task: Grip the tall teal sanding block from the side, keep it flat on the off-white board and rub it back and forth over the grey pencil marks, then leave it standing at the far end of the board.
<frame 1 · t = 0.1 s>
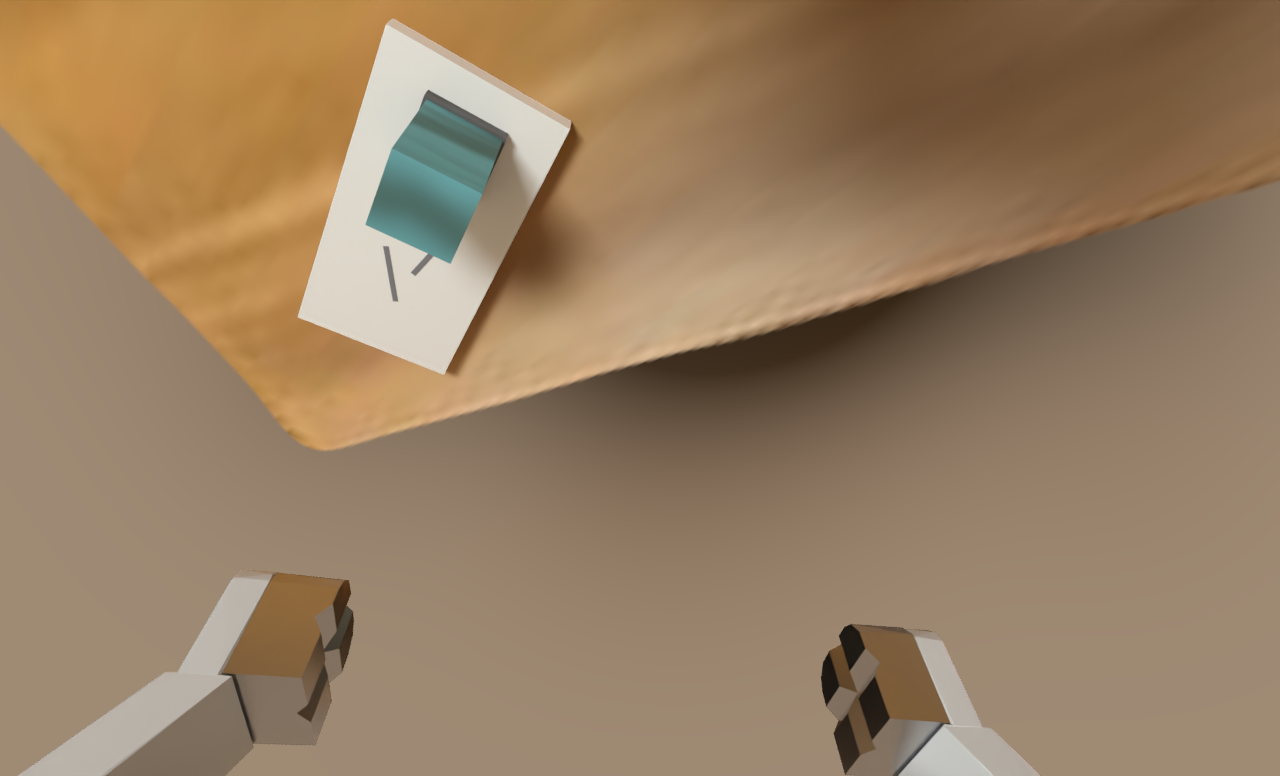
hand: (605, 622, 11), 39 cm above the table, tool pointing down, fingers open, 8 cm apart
board: (425, 222, 48), on the table
sanding block: (454, 148, 43), point 2 cm above the table, touching board
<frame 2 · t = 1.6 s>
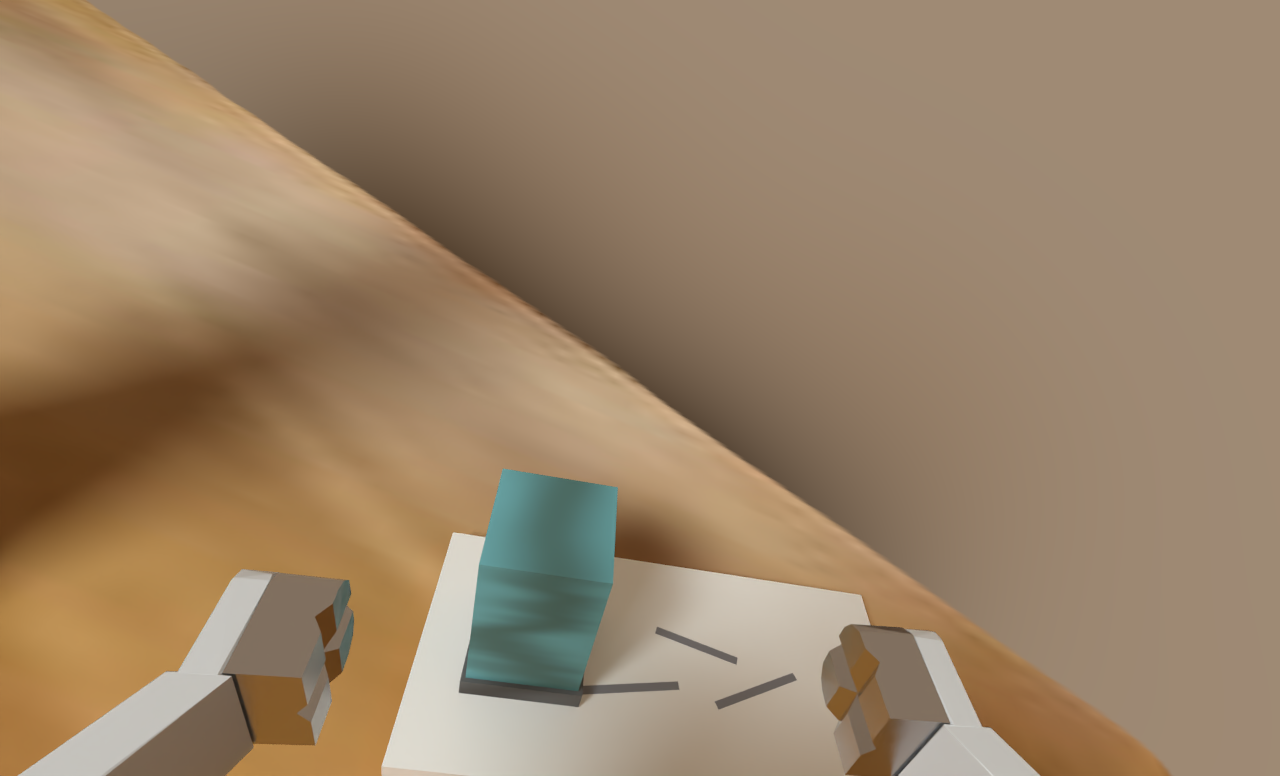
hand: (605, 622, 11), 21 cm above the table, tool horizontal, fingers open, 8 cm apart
board: (661, 679, 33), on the table
sanding block: (527, 644, 31), point 2 cm above the table, touching board
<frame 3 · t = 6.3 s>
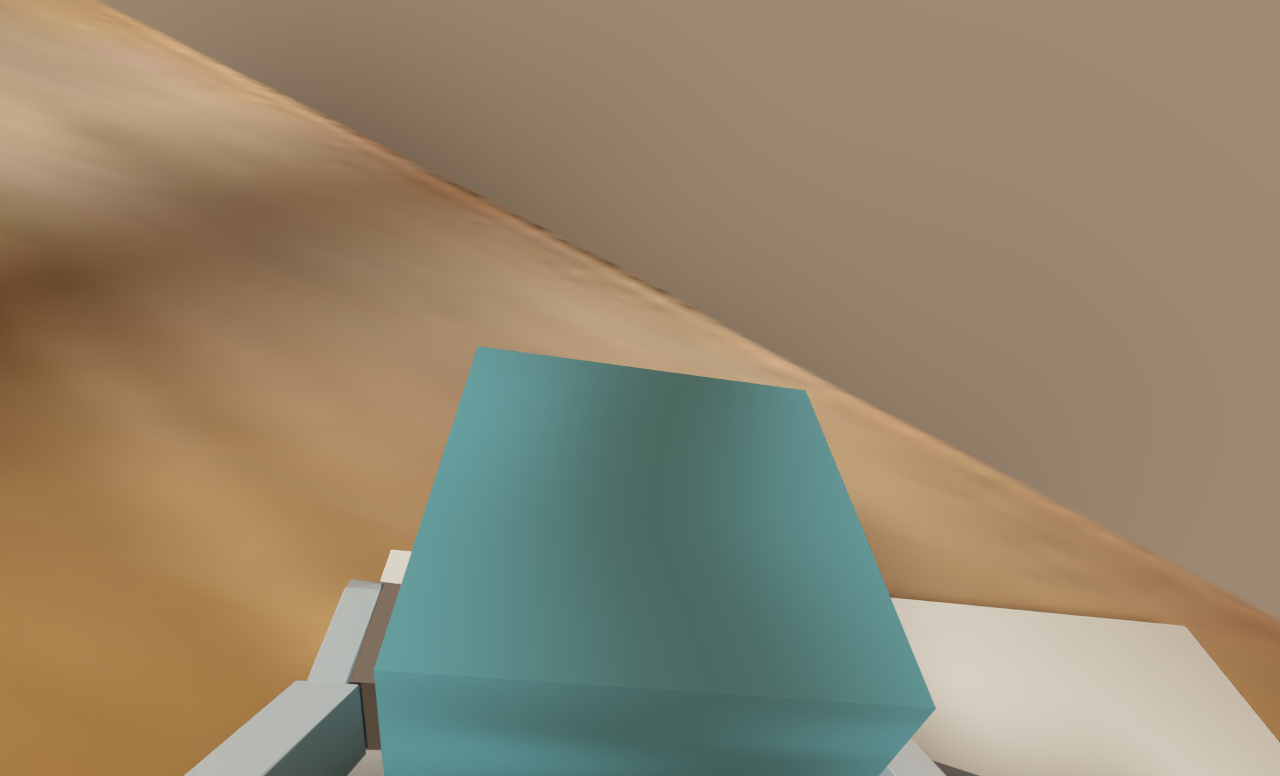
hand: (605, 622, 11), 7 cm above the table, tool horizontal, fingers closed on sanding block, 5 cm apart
when the fingers open (6 cm above the table, at t = 15.3 s): sanding block stays where it is, resting on board.
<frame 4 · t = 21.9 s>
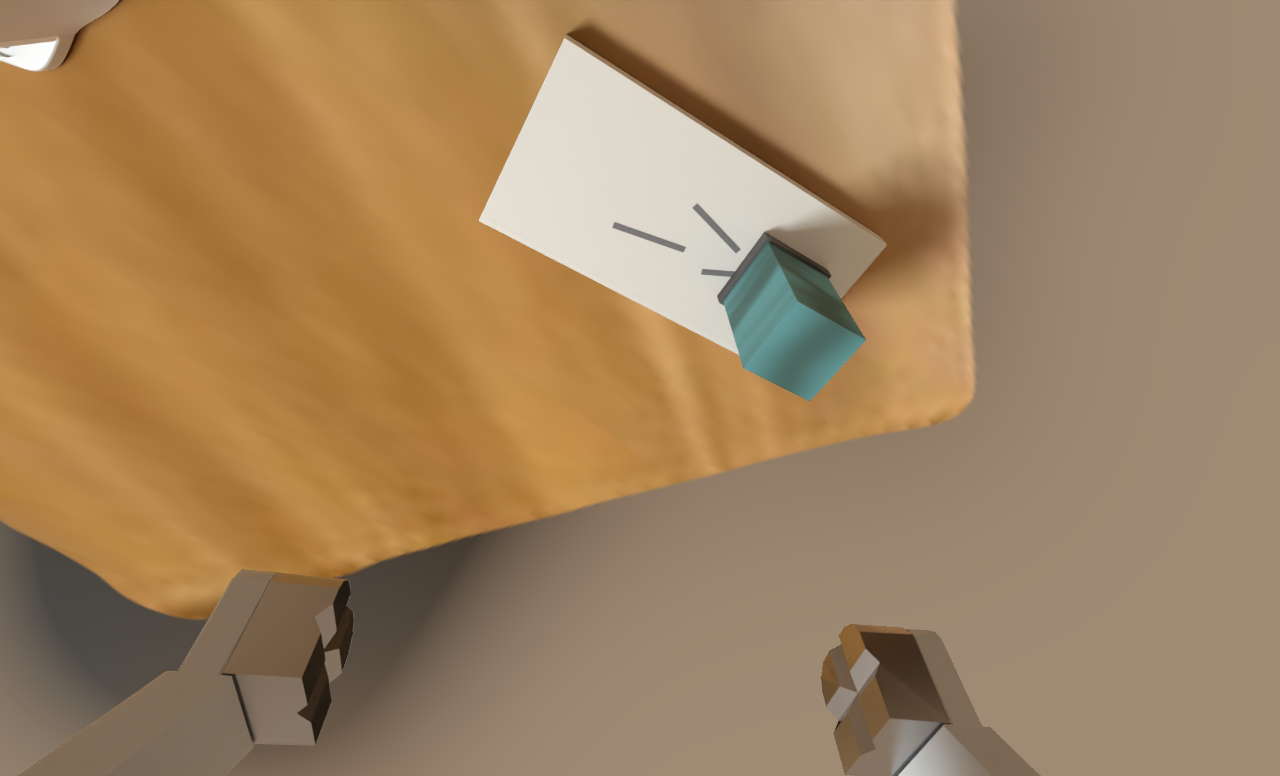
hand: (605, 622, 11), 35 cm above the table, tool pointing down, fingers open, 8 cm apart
board: (685, 224, 43), on the table
sanding block: (771, 282, 44), point 2 cm above the table, touching board
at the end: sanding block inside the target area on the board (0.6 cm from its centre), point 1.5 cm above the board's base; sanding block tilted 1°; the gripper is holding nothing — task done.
